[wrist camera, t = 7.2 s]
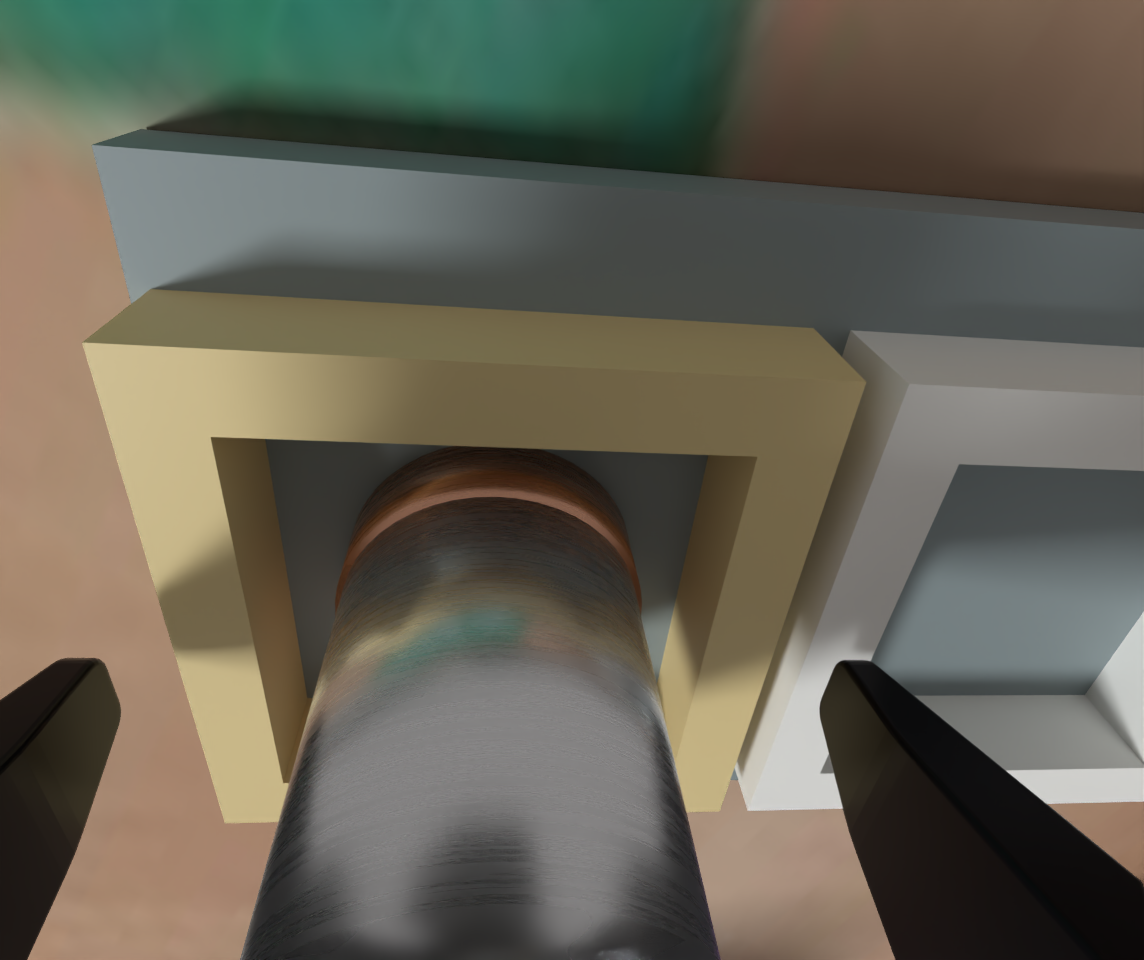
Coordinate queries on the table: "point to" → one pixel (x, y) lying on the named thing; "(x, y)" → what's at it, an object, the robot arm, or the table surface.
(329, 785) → the metal cylinder
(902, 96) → the table surface
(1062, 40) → the table surface
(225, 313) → the grey double slot tray
